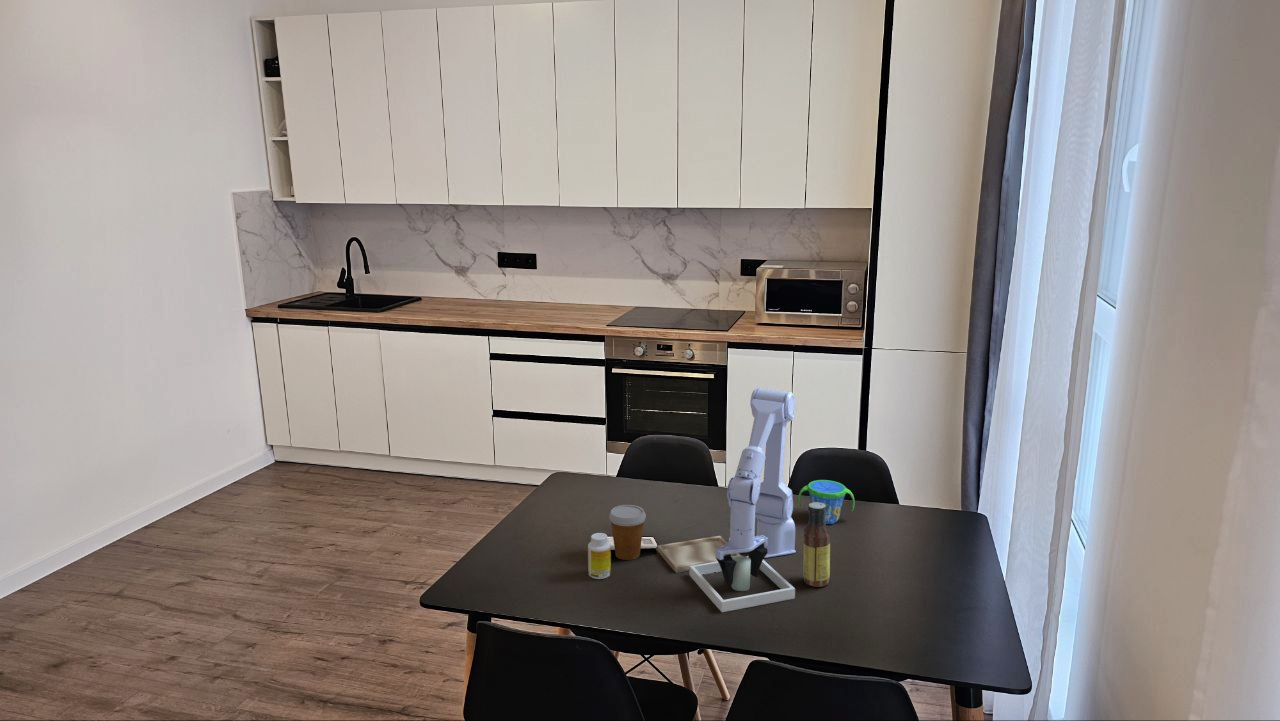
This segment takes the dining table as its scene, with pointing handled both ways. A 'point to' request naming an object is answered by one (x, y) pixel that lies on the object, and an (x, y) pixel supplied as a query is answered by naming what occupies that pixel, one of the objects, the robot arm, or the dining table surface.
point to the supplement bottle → (599, 556)
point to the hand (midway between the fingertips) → (740, 579)
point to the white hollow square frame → (746, 601)
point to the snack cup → (828, 497)
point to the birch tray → (691, 552)
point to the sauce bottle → (816, 547)
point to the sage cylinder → (741, 573)
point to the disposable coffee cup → (627, 530)
